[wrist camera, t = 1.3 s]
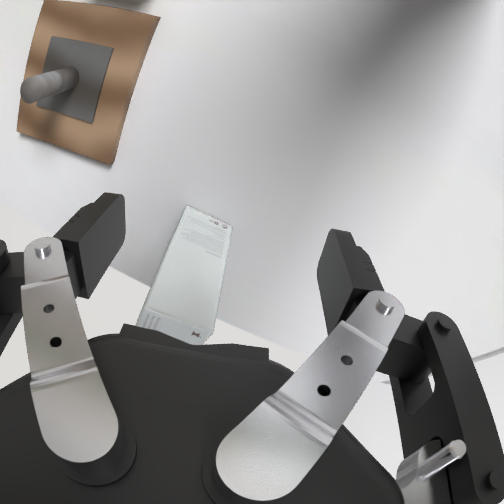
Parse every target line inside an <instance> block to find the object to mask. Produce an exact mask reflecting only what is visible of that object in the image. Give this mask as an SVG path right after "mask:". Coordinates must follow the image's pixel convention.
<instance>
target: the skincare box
mask: <svg viewBox="0 0 504 504" xmlns="http://www.w3.org/2000/svg"><path fill="white" fill-rule="evenodd" d="M232 230H233V227H232V226H230V225H228V224H226V223H224V222H222V221H219V220H217V219H215V218H213V217H211V216H209V215H207V214H205V213H203V212H201V211H199V210H197V209H195V208H193V207H191V206H186V208H185V210H184V212H183V214H182V217H181V219H180V221H179V223H178V226H177V228H176V230H175V233H174V235H173V237H172V239H171V241H170V244H169V246H168V248H167V250H166V252H165V254H164V257H163V259H162V261H161V264H160V266H159V269H158V271H157V274H156V276H155V278H154V281H153V283H152V285H151V288H150V290H149V293H148V295H147V298H146V300H145V302H144V305H143V307H142V310H141V312H140V315H139V318H138V320H137V323H136V326H138V327H143V328H147V329H152V330H157V331H160V332H162V333H164V334H167V335H169V336H172V337H174V338H176V339H179V340H181V341H184V342H186V343H189V344H192V345H203V344H204V342H205V341H206V340H207V339H208V338H209V337H210V336H211V335H212V334H213V332H214V326H215V320H216V315H217V310H218V304H219V299H220V293H221V288H222V283H223V277H224V272H225V267H226V262H227V256H228V251H229V246H230V240H231V235H232Z"/></svg>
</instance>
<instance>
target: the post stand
mask: <svg viewBox="0 0 504 504" xmlns="http://www.w3.org/2000/svg"><path fill="white" fill-rule="evenodd" d="M160 18H161V17H157V16H153V15H149V14H144V13H140V12H135V11H130V10H125V9H120V8H114V7H108V6H102V5H95V4H87V3H79V2H70V1H58V0H44V3H43V6H42V9H41V12H40V15H39V18H38V21H37V25H36V28H35V32H34V36H33V39H32V43H31V47H30V52H29V56H28V60H27V65H26V70H25V75H24V81H23V83H22V85H21V89H20V93H21V99H20V106H19V114H18V122H17V132H20V133H23V134H26V135H29V136H31V137H34V138H37V139H40V140H43V141H45V142H48V143H51V144H54V145H57V146H59V147H62V148H65V149H68V150H70V151H73V152H76V153H79V154H81V155H84V156H87V157H89V158H92V159H95V160H97V161H100V162H103V163H105V164H108V165H110V164H111V163H112V162H114V160H115V156H116V152H117V148H118V144H119V140H120V136H121V132H122V128H123V124H124V121H125V117H126V114H127V110H128V107H129V104H130V100H131V97H132V94H133V91H134V87H135V84H136V81H137V78H138V75H139V72H140V69H141V67H142V64H143V61H144V58H145V55H146V53H147V50H148V47H149V45H150V42H151V40H152V37H153V34H154V32H155V30H156V27H157V25H158V22H159V20H160Z"/></svg>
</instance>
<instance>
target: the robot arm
mask: <svg viewBox="0 0 504 504" xmlns="http://www.w3.org/2000/svg"><path fill="white" fill-rule="evenodd" d="M125 232H126V228H125V200H124V196H123V195H122V194H114V193H106V192H105V193H103V194H102V195H101V196H100V197H99V198H98V199H97V200H96V201H95V202H94V203H90V204H88V205H86V206H84V207H82V208H81V209H80V210H79V211H78V212H77V213H76V214H75V215H74V216H73V217H72V218H71V219H70V220H69V222H67V223H66V224H65V225H64V226H63V227H62V228H61V229H60V230H59V231H58V232H57V233H56V234H55V235H54V236H53V237H44V238H39V239H37V240H35V241H32V242H31V243H30V244H29V245H27V247H26V248H25V250H24V252H15V253H8V250H7V246H6V243H5V242H4V241H3V240H0V356H1V354H2V352H3V350H4V348H5V346H6V345H7V343H8V341H9V339H10V337H11V335H12V334H13V332H14V330H15V328H16V327H17V325H18V323H19V322H20V320H21V318H22V316H23V321H24V331H25V339H26V346H27V353H28V359H29V365H30V371H31V372H30V373H28V374H26V375H25V376H23V377H21V378H19V379H17V380H16V381H14V382H12V383H10V384H9V385H7V386H5V387H4V388H2V389H0V504H498V503H500V502H501V501H502V500H503V499H504V454H503V450H502V447H501V443H500V440H499V436H498V432H497V429H496V425H495V422H494V419H493V416H492V413H491V410H490V407H489V404H488V401H487V398H486V395H485V392H484V390H483V387H482V384H481V382H480V379H479V377H478V374H477V372H476V369H475V366H474V364H473V361H472V359H471V356H470V354H469V352H468V349H467V347H466V345H465V342H464V340H463V338H462V336H461V333H460V331H459V329H458V327H457V325H456V324H455V323H454V321H453V320H452V319H451V318H449V317H448V316H446V315H445V314H442V313H440V312H430V313H428V315H427V316H426V318H425V319H424V321H421V320H418V319H416V318H413V317H410V316H408V315H405V310H404V307H403V305H402V304H401V302H400V301H399V300H398V299H397V298H396V297H394V296H393V295H391V294H389V293H387V292H385V291H384V289H383V287H382V284H381V282H380V280H379V277H378V275H377V273H376V272H375V271H376V270H375V268H374V266H373V265H372V261H371V259H370V257H369V255H368V254H367V253H366V252H365V251H364V250H363V249H362V248H361V247H359V246H356V244H355V241H354V239H353V237H352V235H351V233H350V232H347V231H342V230H336V229H331V230H330V231H329V233H328V236H327V239H326V242H325V245H324V248H323V251H322V254H321V257H320V260H319V263H318V268H317V280H318V285H319V290H320V295H321V300H322V305H323V310H324V316H325V321H326V327H327V332H328V337H327V338H326V339H325V340H324V341H323V343H322V344H321V345H320V346H319V347H318V348H317V349H316V350H315V352H314V353H313V354H312V355H311V356H310V357H309V358H308V359H307V360H306V362H305V363H304V364H303V365H302V366H301V367H300V368H299V369H298V370H297V371H296V372H295V373H294V372H293V371H291V370H290V369H288V368H286V367H285V366H283V365H281V364H279V363H277V362H274V361H272V360H269V349H268V348H261V347H253V346H246V345H239V344H213V345H192V344H189V343H186V342H184V341H181V340H179V339H176V338H174V337H172V336H169V335H167V334H164V333H162V332H160V331H157V330H152V329H147V328H143V327H138V326H133V325H129V324H123V327H122V329H121V331H120V334H107V335H102V336H98V337H94V338H91V339H89V340H87V338H86V335H85V331H84V328H83V325H82V322H81V318H80V315H79V312H78V308H77V304H76V301H75V299H76V297H77V296H78V297H83V298H86V299H89V298H90V296H91V294H92V293H93V291H94V289H95V288H96V286H97V284H98V283H99V281H100V279H101V277H102V276H103V274H104V273H105V271H106V270H107V268H108V266H109V265H110V263H111V262H112V260H113V259H114V257H115V256H116V254H117V252H118V251H119V249H120V248H121V246H122V245H123V242H124V239H125ZM376 371H378V372H381V373H384V374H387V375H389V377H390V382H391V386H392V391H393V396H394V402H395V406H396V412H397V418H398V423H399V430H400V436H401V442H402V449H403V455H404V460H403V461H402V462H401V464H400V465H399V467H398V470H397V478H396V480H395V479H394V478H393V477H392V476H391V474H390V473H389V472H387V470H386V469H385V468H384V467H383V466H381V464H380V463H379V462H378V461H377V460H376V459H375V458H374V457H373V456H372V455H371V454H370V453H369V452H368V451H367V450H366V449H365V448H364V447H363V445H362V444H361V443H360V442H359V441H358V440H357V439H356V438H355V437H354V436H353V435H352V434H351V433H350V432H349V430H348V429H347V428H346V427H345V426H344V425H343V422H344V421H345V419H346V418H347V416H348V415H349V413H350V412H351V410H352V409H353V407H354V406H355V404H356V403H357V401H358V399H359V398H360V396H361V395H362V393H363V391H364V390H365V388H366V387H367V385H368V383H369V382H370V380H371V378H372V377H373V375H374V373H375V372H376ZM431 372H432V375H433V378H434V382H435V389H434V392H432V389H431V385H430V382H429V379H428V376H429V374H430V373H431Z"/></svg>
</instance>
